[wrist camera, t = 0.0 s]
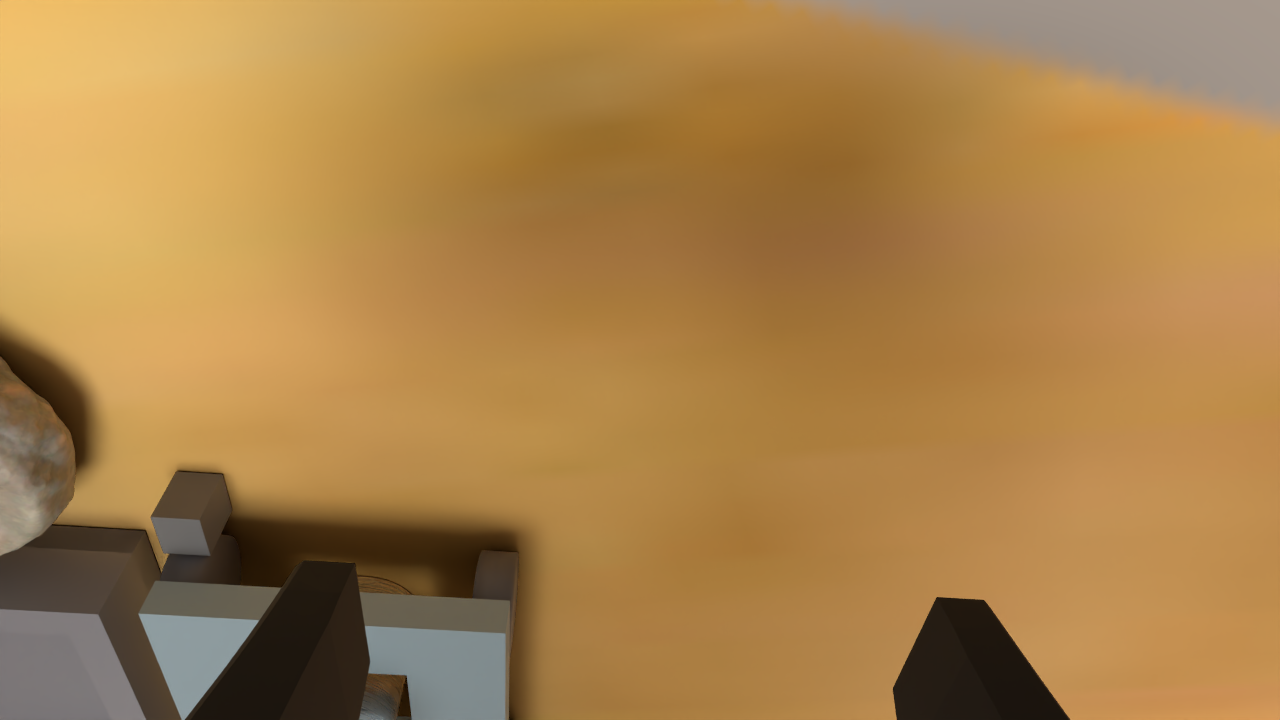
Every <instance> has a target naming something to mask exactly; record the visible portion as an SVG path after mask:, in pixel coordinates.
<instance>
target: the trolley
mask: <svg viewBox="0 0 1280 720" xmlns="http://www.w3.org/2000/svg"><path fill="white" fill-rule="evenodd" d="M231 512H232V508H231V504H230V500H229V496H228V493H227V489H226V485H225V482H224V478H223V474H208V473H192V472H176V473H175V475H174V476H173V478H172V480H171V482H170V483H169V485H168V487H167V489H166V491H165V492H164V494H163V496H162V498H161V499H160V501H159V503H158V505H157V506H156V508H155V510H154V512H153V514H152V515H151V520H152V522H153V525H154V528H155V531H156V534H157V536H158V539H159V542H160V545H161V548H162V550H163V553H169V556H168V558H167V560H166V563H165V565H164V568H163V571H162V574H161V578H160V581H155V582H154V584H153V586H152V588H151V590H150V592H149V594H148V596H147V598H146V600H145V602H144V604H143V605H142V607H141V609H140V611H139V613H138V614H139V617H140V619H141V622H142V624H143V626H144V629H145V631H146V634H147V636H148V639H149V641H150V644H151V646H152V648H153V651H154V653H155V656H156V658H157V661H158V663H159V666H160V668H161V670H162V673H163V675H164V678H165V680H166V683H167V685H168V687H169V690H170V692H171V695H172V697H173V700H174V702H175V705H176V707H177V709H178V712H179V714H180V717H181V719H182V720H185V719H186V717H187V716H188V715H189V713H190V712H191V711H192V710H193V708H194V707H195V706H196V704H197V703H198V702H199V701H200V699H201V698H202V697H203V695H204V694H205V693H206V692H207V690H208V689H209V688H210V686H211V685H212V684H213V683H214V681H215V680H216V679H217V677H218V676H219V675H220V674H221V672H222V671H223V670H224V668H225V667H226V666H227V664H228V663H229V661H230V660H231V659H232V657H233V656H234V655H235V653H236V652H237V651H238V649H239V648H240V646H241V645H242V644H243V642H244V641H245V640H246V638H247V637H248V636H249V634H250V633H251V631H252V630H253V628H254V627H255V626H256V624H257V623H258V621H259V620H260V619H261V617H262V616H263V614H264V613H265V611H266V610H267V608H268V607H269V606H270V604H271V603H272V601H273V600H274V598H275V597H276V595H277V594H278V592H279V591H280V589H281V588H276V587H259V586H241V585H240V581H241V556H240V550H239V546H238V544H237V542H236V540H235V539H234V537H232V536H230V535H221V533H222V531H223V529H224V526H225V524H226V522H227V520H228V518H229V516H230V514H231ZM518 573H519V554H518V552H505V551H488V550H482V551H481V553H480V556H479V560H478V564H477V569H476V575H475V582H474V589H473V597H472V598H454V597H436V596H418V595H401V594H383V593H365V592H360V598H361V605H362V611H363V618H364V624H365V630H366V637H367V643H368V649H369V656H370V666H369V671H368V673H370V674H390V675H407V682H408V691H409V700H410V708H411V717H404V716H397V718H396V720H509V660H510V655H511V649H512V641H513V633H514V624H515V614H516V603H517V590H518Z"/></svg>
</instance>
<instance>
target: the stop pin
mask: <svg viewBox="0 0 1280 720" xmlns="http://www.w3.org/2000/svg"><path fill="white" fill-rule="evenodd" d="M357 579H358V586H359V592H365V593H383V594H401V595H412V594H410V593H409V592H408V591H407V590H405V589H404V588H403V587H401V586H399V585H397V584H395V583H393V582H390V581H387V580H384V579H380V578H374V577H361V576H359V577H357ZM405 678H406V675H390V674H370V673H368V676H367V682H366V687H365V692H364V697H363V702H362V707H361V712H360V717H359V720H396V718H397V713H398V709H399V705H400V700H401V696H402V691H403V687H404V683H405Z"/></svg>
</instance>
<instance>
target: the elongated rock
mask: <svg viewBox="0 0 1280 720" xmlns="http://www.w3.org/2000/svg"><path fill="white" fill-rule="evenodd" d="M75 475H76V463H75V449H74V445H73V441H72V437H71V433H70V431H69V430H68V428H67V427H66V426H65V425H64V423H63V422H62V421H61V420H60V419H59V418H58V416H57V415H56V413H55V412H54V410H53V408H52V407H51V405H50V404H49V403H48V402H47V401H46V400H45V399H44V398H42V397H40V396H39V395H38V394H36V393H35V392H34V391H33V390H32V389H31V388H29V387H28V386H27V385H26V384H25V383H23V382H22V381H21V380H20V379H19V378H18V377H17V376H16V375H15V374H14V373H13V372H12V371H11V369H10V367H9V366H8V364H7V363H6V362H5V361H4V360H3V359H2V358H1V357H0V556H1V555H3V554H5V553H8V552H11V551H15V550H17V549H19V548H21V547H22V546H24V545H25V544H27V543H28V542H30V541H31V540H33V539H35V538H36V537H39V536H41V535H42V534H43V533H44V532H45V531H46V530H47V528H49V527H50V526H51V524H52V523H53V522H54V521H55V520H56V519H57V518H58V516H59V515H60V514H61V513H62V511H63V510H64V509H65V508H66V507H67V505H68V504H69V502H70V501H71V500H72V498H73V496H74V482H75Z"/></svg>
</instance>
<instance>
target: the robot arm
mask: <svg viewBox="0 0 1280 720" xmlns="http://www.w3.org/2000/svg"><path fill="white" fill-rule="evenodd" d="M369 666H370V656H369V649H368V643H367V637H366V630H365V624H364V618H363V611H362V605H361V598H360V592H359V586H358V579H357V573H356V566H355V563H339V562H322V561H305V560H304V561H302V562H301V563H299V564H298V565H296V566H295V568H294V569H293V571H292V572H291V574H290V576H289V577H288V579H287V580H286V582H285V583H284V585H283V586H282V588H281V589H280V591H279V592H278V594H277V595H276V597H275V598H274V600H273V601H272V603H271V604H270V606H269V607H268V608H267V610H266V611H265V613H264V614H263V616H262V617H261V619H260V620H259V621H258V623H257V624H256V626H255V627H254V628H253V630H252V631H251V633H250V634H249V636H248V637H247V638H246V640H245V641H244V642H243V644H242V645H241V646H240V648H239V649H238V651H237V652H236V653H235V655H234V656H233V657H232V659H231V660H230V661H229V663H228V664H227V666H226V667H225V668H224V670H223V671H222V672H221V674H220V675H219V676H218V677H217V679H216V680H215V681H214V683H213V684H212V685H211V686H210V688H209V689H208V690H207V692H206V693H205V694H204V695H203V697H202V698H201V699H200V701H199V702H198V703H197V704H196V706H195V707H194V708H193V710H192V711H191V712H190V713H189V715H188V716H187V717H186V719H185V720H359V717H360V712H361V707H362V702H363V697H364V692H365V687H366V682H367V676H368V671H369ZM893 694H894V701H895V709H896V717H897V720H1070V719H1069V717H1068V716H1067V715H1066V713H1065V712H1064V711H1063V709H1062V708H1061V706H1060V705H1059V704H1058V702H1057V701H1056V700H1055V698H1054V697H1053V695H1052V694H1051V693H1050V691H1049V690H1048V688H1047V687H1046V686H1045V684H1044V683H1043V682H1042V680H1041V679H1040V677H1039V676H1038V675H1037V673H1036V672H1035V670H1034V669H1033V668H1032V666H1031V665H1030V663H1029V662H1028V660H1027V659H1026V658H1025V656H1024V655H1023V653H1022V652H1021V651H1020V649H1019V648H1018V646H1017V645H1016V644H1015V642H1014V641H1013V639H1012V638H1011V636H1010V635H1009V634H1008V632H1007V631H1006V629H1005V628H1004V627H1003V625H1002V624H1001V622H1000V621H999V620H998V618H997V617H996V615H995V614H994V613H993V611H992V610H991V608H990V607H989V606H988V604H987V603H986V602H985V601H984V600H975V599H958V598H941V597H937V598H936V600H935V602H934V604H933V606H932V608H931V610H930V612H929V614H928V616H927V618H926V621H925V623H924V625H923V627H922V629H921V631H920V633H919V635H918V637H917V639H916V641H915V643H914V646H913V648H912V650H911V652H910V654H909V656H908V658H907V660H906V662H905V664H904V666H903V668H902V670H901V673H900V675H899V677H898V679H897V681H896V683H895V685H894V687H893Z"/></svg>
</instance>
